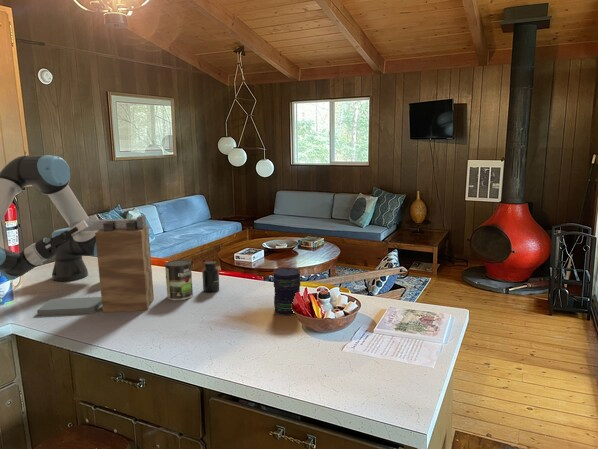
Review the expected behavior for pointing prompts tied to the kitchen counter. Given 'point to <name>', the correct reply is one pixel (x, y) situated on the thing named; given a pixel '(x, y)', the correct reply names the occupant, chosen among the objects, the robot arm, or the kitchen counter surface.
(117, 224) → the grey bar
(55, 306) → the gray block
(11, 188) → the robot arm
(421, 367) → the kitchen counter surface
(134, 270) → the brown wooden tall block
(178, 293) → the coffee can
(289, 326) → the kitchen counter surface
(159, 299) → the kitchen counter surface
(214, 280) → the supplement bottle
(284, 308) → the storage jar
